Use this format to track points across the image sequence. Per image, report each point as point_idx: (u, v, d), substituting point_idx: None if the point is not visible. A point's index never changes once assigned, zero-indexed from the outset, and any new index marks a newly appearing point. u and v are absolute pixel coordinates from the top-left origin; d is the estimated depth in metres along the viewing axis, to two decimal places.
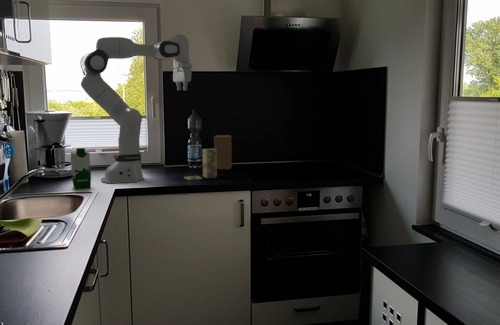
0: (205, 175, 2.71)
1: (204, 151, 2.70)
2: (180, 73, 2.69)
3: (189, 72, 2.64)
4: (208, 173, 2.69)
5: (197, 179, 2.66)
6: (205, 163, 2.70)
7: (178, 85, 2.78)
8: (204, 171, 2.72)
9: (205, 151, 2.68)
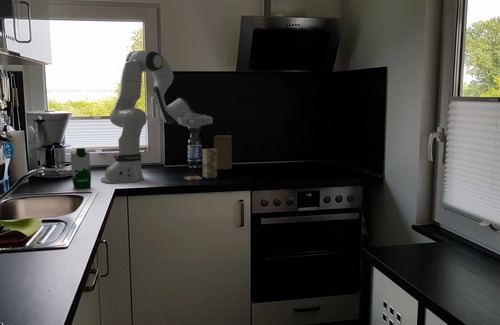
0: (205, 175, 2.71)
1: (204, 151, 2.70)
2: (198, 117, 2.89)
3: None
4: (208, 173, 2.69)
5: (197, 179, 2.66)
6: (205, 163, 2.70)
7: None
8: (204, 171, 2.72)
9: (205, 151, 2.68)
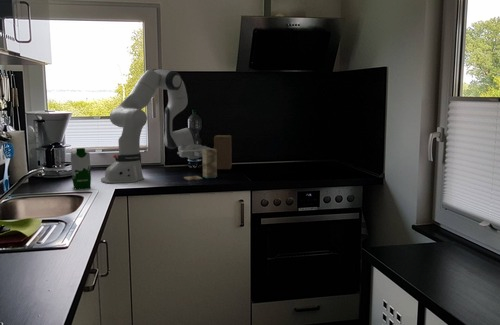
0: (205, 175, 2.71)
1: (204, 151, 2.70)
2: (198, 149, 2.92)
3: None
4: (208, 173, 2.69)
5: (197, 179, 2.66)
6: (205, 163, 2.70)
7: None
8: (204, 171, 2.72)
9: (205, 151, 2.68)
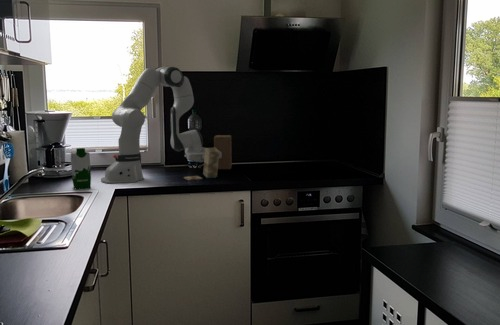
0: (205, 174, 2.70)
1: (207, 151, 2.66)
2: None
3: None
4: (208, 173, 2.69)
5: (197, 179, 2.66)
6: (206, 163, 2.68)
7: None
8: (205, 170, 2.71)
9: (208, 152, 2.65)
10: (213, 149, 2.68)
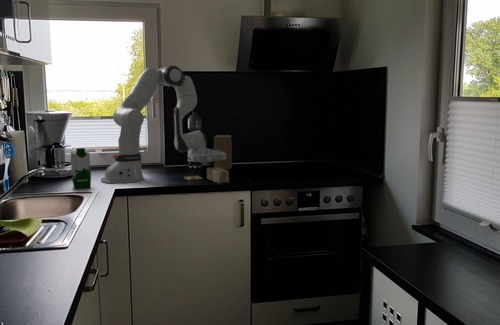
0: (207, 175, 2.68)
1: (217, 177, 2.56)
2: (211, 153, 2.75)
3: None
4: None
5: (197, 179, 2.66)
6: (212, 177, 2.62)
7: None
8: (209, 173, 2.66)
9: (217, 180, 2.56)
10: (224, 176, 2.57)
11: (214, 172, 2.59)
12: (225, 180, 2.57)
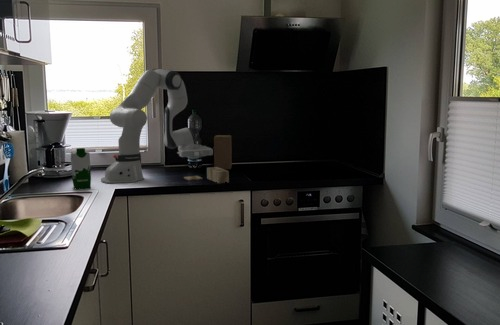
0: (207, 175, 2.68)
1: (217, 177, 2.56)
2: (198, 149, 2.92)
3: None
4: None
5: (197, 179, 2.66)
6: (212, 177, 2.62)
7: None
8: (209, 173, 2.66)
9: (217, 180, 2.56)
10: (224, 176, 2.57)
11: (214, 172, 2.59)
12: (225, 180, 2.57)
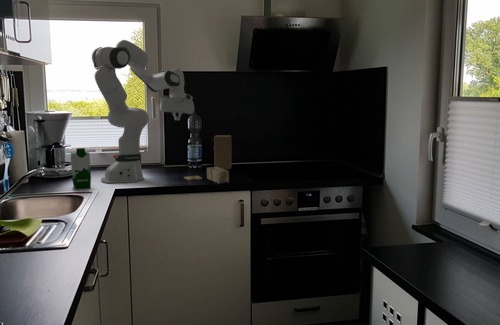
0: (207, 175, 2.68)
1: (217, 177, 2.56)
2: (181, 104, 2.85)
3: None
4: None
5: (197, 179, 2.66)
6: (212, 177, 2.62)
7: None
8: (209, 173, 2.66)
9: (217, 180, 2.56)
10: (224, 176, 2.57)
11: (214, 172, 2.59)
12: (225, 180, 2.57)
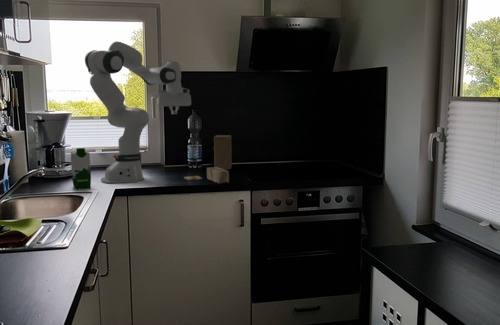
0: (207, 175, 2.68)
1: (217, 177, 2.56)
2: (178, 98, 2.84)
3: None
4: None
5: (197, 179, 2.66)
6: (212, 177, 2.62)
7: None
8: (209, 173, 2.66)
9: (217, 180, 2.56)
10: (224, 176, 2.57)
11: (214, 172, 2.59)
12: (225, 180, 2.57)
